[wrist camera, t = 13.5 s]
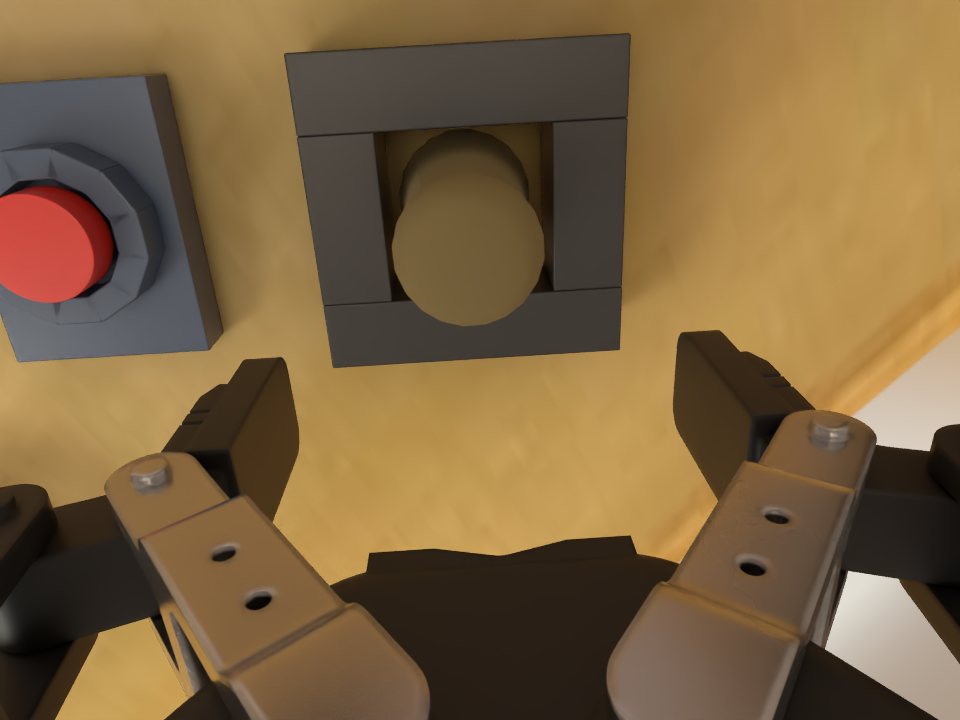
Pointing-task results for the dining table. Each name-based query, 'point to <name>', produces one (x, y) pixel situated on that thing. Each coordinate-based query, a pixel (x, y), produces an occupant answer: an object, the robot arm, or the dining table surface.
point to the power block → (111, 217)
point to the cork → (467, 230)
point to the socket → (449, 104)
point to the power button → (52, 244)
